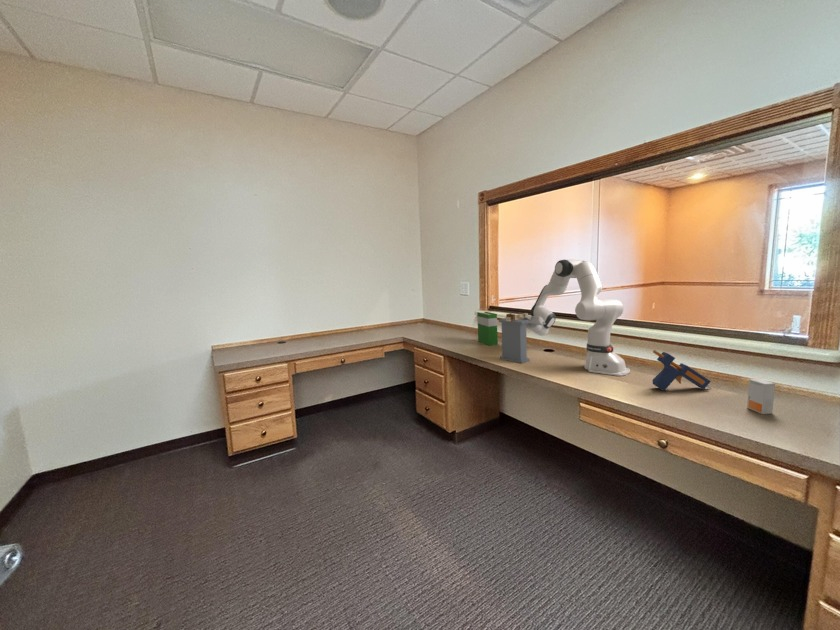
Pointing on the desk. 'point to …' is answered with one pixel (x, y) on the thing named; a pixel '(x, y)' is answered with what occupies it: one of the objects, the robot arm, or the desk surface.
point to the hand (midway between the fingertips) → (522, 315)
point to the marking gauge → (514, 316)
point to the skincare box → (761, 396)
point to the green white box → (487, 328)
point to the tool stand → (514, 340)
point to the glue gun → (677, 373)
